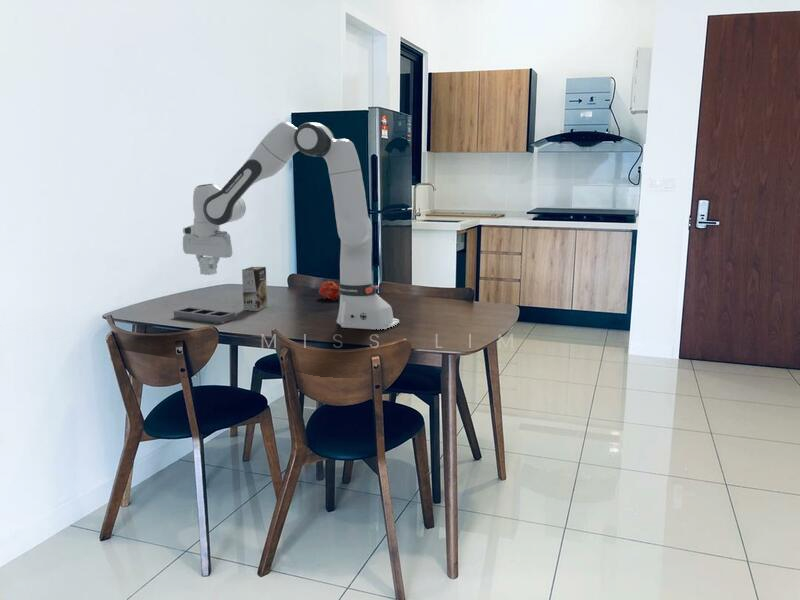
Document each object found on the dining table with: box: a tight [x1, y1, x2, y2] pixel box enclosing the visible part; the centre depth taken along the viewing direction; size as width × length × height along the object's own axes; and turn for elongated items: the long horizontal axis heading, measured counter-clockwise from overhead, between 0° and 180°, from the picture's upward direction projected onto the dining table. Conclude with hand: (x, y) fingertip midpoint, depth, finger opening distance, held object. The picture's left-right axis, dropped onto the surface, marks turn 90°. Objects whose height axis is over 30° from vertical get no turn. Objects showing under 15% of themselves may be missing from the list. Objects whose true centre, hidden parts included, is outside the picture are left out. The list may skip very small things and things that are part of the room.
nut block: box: [199, 256, 217, 276], centre depth 231 cm, size 4×4×6 cm
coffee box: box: [241, 266, 268, 312], centre depth 249 cm, size 9×6×16 cm
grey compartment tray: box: [173, 306, 237, 324], centre depth 233 cm, size 22×8×2 cm, turn 64°
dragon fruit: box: [317, 280, 340, 301], centre depth 268 cm, size 8×8×12 cm
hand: (208, 268), depth 231 cm, fingers closed on nut block, 4 cm apart
